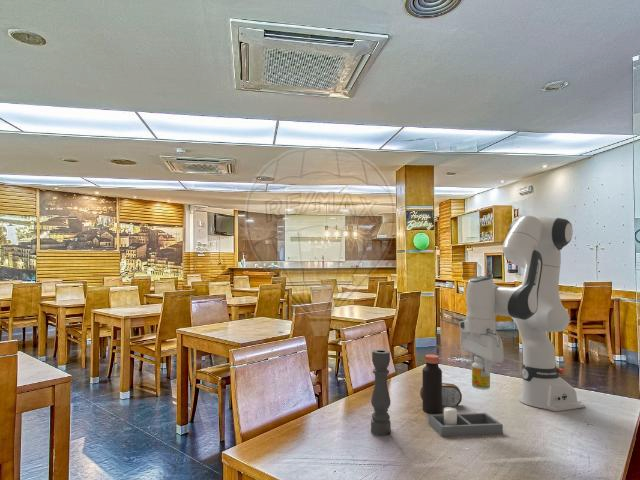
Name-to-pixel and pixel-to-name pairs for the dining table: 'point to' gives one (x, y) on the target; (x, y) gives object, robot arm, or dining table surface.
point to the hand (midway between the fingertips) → (481, 370)
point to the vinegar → (432, 385)
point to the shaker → (450, 416)
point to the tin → (448, 395)
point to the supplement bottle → (480, 374)
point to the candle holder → (380, 394)
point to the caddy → (466, 424)
